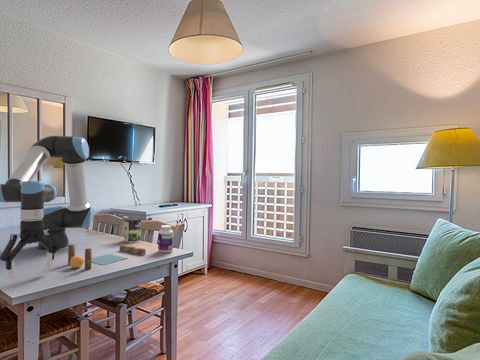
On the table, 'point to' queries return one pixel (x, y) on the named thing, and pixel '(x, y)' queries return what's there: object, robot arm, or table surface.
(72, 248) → the post
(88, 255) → the post
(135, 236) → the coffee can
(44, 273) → the table surface
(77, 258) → the ball
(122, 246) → the wooden bar
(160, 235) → the pill bottle
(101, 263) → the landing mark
